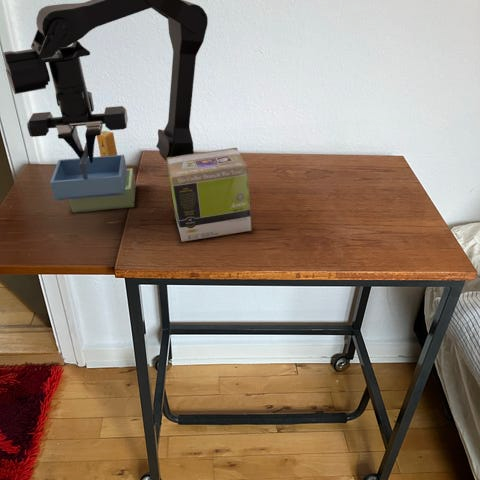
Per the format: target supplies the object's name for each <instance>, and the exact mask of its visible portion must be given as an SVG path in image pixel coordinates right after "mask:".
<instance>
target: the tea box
mask: <svg viewBox="0 0 480 480" xmlns="http://www.w3.org/2000/svg"><path fill="white" fill-rule="evenodd" d="M166 167H167V171H168V179H169V185H170V192H171V198H172V205H173V210H174V216H175V220H176V225H177V228H178V232H179V236H180V239H181V240H180V241H181V242H183V243H184V242H189V241H196V240H201V239H207V238H215V237H221V236H226V235H233V234H238V233H245V232H252V216H251V200H250V198H251V197H250V184H249V169H248V165H247V163H246V162H245V160H244V158H243V156H242V154H241V152H240V151H239V149H238V147H230V148H229V147H228V148H224V149H223V148H222V149H217V150H211V151H202V152H194V154H189V155H182V156H176V157H168V158H167V161H166Z"/></svg>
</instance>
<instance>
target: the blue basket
mask: <svg viewBox="0 0 480 480" xmlns="http://www.w3.org/2000/svg"><path fill="white" fill-rule="evenodd" d="M125 157H126V156H125V154H117V155H114V156H93V163H90V160H89V156H88V150H87V143H86V142H85V144H84V148H83V154H82V158H81V159H80V158H79V157H78V158H77V157H76V158H65V159H63V158H62V159H58V160H57V162H56V165H55V167H54V168H55V169H54V171H53V174H52V176H51V180H50V182H49V183H50V187H51V190H52V194H53V198H54V201H67V200H69V199H79V198H91V197H103V196H115V195H124V194H125V186H126V178H127V169H128V168H127V163H126V159H125Z"/></svg>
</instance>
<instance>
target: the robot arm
mask: <svg viewBox="0 0 480 480" xmlns="http://www.w3.org/2000/svg"><path fill="white" fill-rule="evenodd" d="M149 9H152V10H153V11H155V12H156V13H158V14H159V15H161V16H162V17H164V18H166V19H167V25H168V26H167V27H168V35H169V39H170V44H171V47H172V63H171V64H172V65H171V78H170V88H169V89H170V90H169V106H168V118H167V124H166V125H165V127H164V128H163V129H158V130H157V137H158V139H157V143H156V146H155V147H156V148H157V149H158V152H159V156H161V158H162V159H163V160H164V161H165V162H167V158H168V157H176V156H182V155H189V154H195V151H194V141H193V136H192V132H191V128H190V127H191V126H190V123H191V113H192V104H193V92H194V83H195V82H194V81H195V73H196V72H195V71H196V61H197V55H198V53H199V52H200V49H201V47H202V46H203V44H204V40H205V37H206V32H207V29H208V21H209V19H208V14H207V13H206V11H205V10H204V8H203V7H201V6H200V5H198V4H195V3H193V2H190V1H188V0H88V1H84V2H77V3H76V2H75V3H60V4H52V5H51V4H50V5H45V6H43V7H42V8H40V10H38V12H37V15H36V22H35V23H36V28H37V29H36V33H35V35H34V37H33V40H32V43H31V45H30V49H23V50H16V51H13V50H11V51H10V50H9V51H8V50H7V51H4V52H3V54H2V55H3V58H4V64H5V67H6V69H5V72H6V75H7V78H8V81H9V84H10V86H11V87H10V88H11V90H12V91H13V94H14V95H18V94H24V93H29V92H34V91H41V90H45V89H47V86H49V85H50V82H51V78H52V83H53V87H54V91H55V100H56V105H57V106H58V107H59V110H60V114H61V116H53V114H52V112H51V111H43V112H33V113H32V114H31V116H30V117H29V119H28V122H27V123H26V127H27V132H28V133H29V137H32V138H36V137H46V136H47V134H48V133H49V132H50V129H56V130H57V139H60V140H63V141H65V142H66V144H67V145H68V146H69V147H70V148H71V149H72V151H73V152H74V153H75V154H76V156H77V157H78V158H80V159H81V158H82V154H83V151H84V148H83V145H82V143H81V140H80V137H79V132H78V128H77V127H81V126H85V128H86V131H85V133H84V134H85V144H86V143H87V150H88V157H89V160H90V163H93V157H94V153H95V143H96V139H97V136H98V135H101V132H102V131H103V127H105V128H107V129H108V130H109V131H119V130H120V131H121V130H126V129H127V128H128V120H129V118H128V113H127V108H126V107H124V106H123V105H120V106H119V105H117V106H106V107H105V108H104V112H103V113H92V112H94V110H95V106H94V100H93V93H92V92H91V91H88V88H87V85H86V80H85V75H84V71H83V66H82V61H81V58H82V57H88V56H90V55H91V51H89V50H88V49H87V48H86V47H84V46H83V45H82V43H81V42H80V40H81V39H82V38H84V37H85V36H86V35H88V34H89V33H90V32H91V31H93V30H94V29H95V28H98V27H100V26H103V25H106V24H110V23H112V22H115V21H117V20H120V19H125V18H126V17H129V16H132V15H134V14H138V13H140V12H143V11H146V10H149ZM47 64H48V66H47ZM48 68H49V69H48ZM49 71H50V72H49ZM50 75H51V76H50ZM103 125H104V126H103Z"/></svg>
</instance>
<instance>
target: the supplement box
mask: <svg viewBox="0 0 480 480" xmlns="http://www.w3.org/2000/svg"><path fill="white" fill-rule="evenodd" d="M96 140H97V144H98V149H99V150H98V151H99V155H100V156H99V157H101V156H114V155H118V151H117V147H116V146H117V145H116V140H115V135H114V132H113V131H107V130H102V131H101V135H98V136H96Z"/></svg>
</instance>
